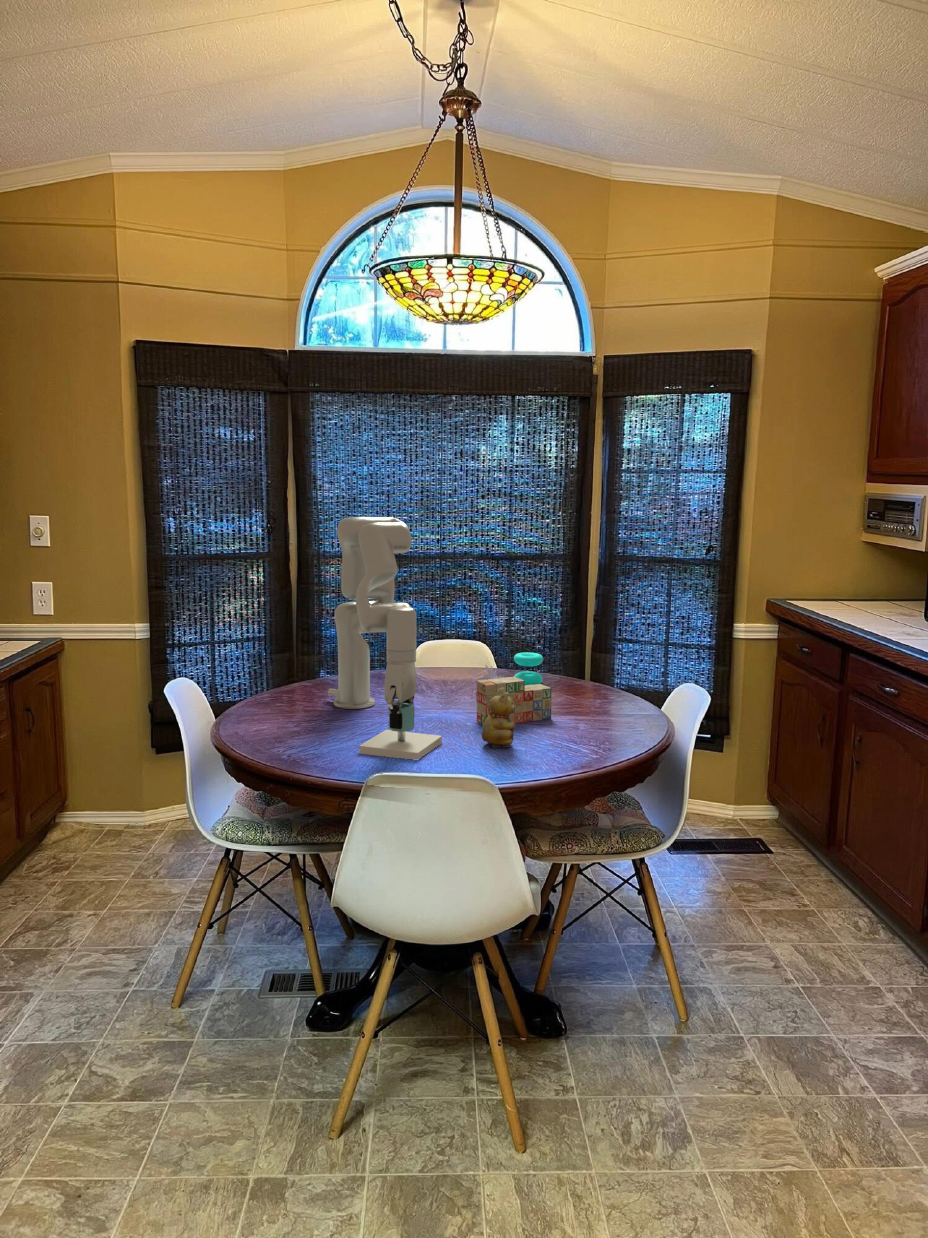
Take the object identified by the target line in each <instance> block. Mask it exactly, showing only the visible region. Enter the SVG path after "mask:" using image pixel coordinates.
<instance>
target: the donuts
mask: <svg viewBox="0 0 928 1238" xmlns="http://www.w3.org/2000/svg"><path fill="white" fill-rule="evenodd" d="M513 661H514V662H515V663H516V664H517V665H519V666H522V667H536V666H539V665H541V664H542V663H543V662H544V657H543V656H542V654H540V653H537V652H527V651H526V652H519V653H516V654H515V655H514V656H513ZM513 677H516V678H519V679H521V680H524V681H525V685H535V684H542V682H543V680H544V679H543V676H542V675H541V674H540V673H538V672H537V671H536V672H535V671H531V670H530V671H525V670H524V671H519V672H517V673H515V674H514V675H513Z"/></svg>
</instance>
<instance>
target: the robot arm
mask: <svg viewBox="0 0 928 1238" xmlns="http://www.w3.org/2000/svg"><path fill="white" fill-rule="evenodd" d="M336 531H337V532H336V533H337V539H338V543H339V545H340V549H341V554H342V555H341V557H342V560H341V582H340V589H341V593H342V595H343V597H344V598H346V599H348V600H355V601H347V602H343V603H340V604H338V606H337V607H336V608H335V609H334V623H335V628H336V629H335V630H336V636H337V659H338V660H337V661H338V662H337V665H338V667H337V670H338V674H337V675H338V679H337V681H338V683H337V684H338V686H337V687H338V688H337V689H335V688H328V690H327V696H329V697H335V699H334V700H333V706H335V707H336V708H339V709H345V710H357V709H358V710H359V709H366V708H370V707H372V706H374V705H376V700H375V699H374V698H373V697H371V684H370V683H371V682H370V681H371V680H370V679H371V673H370V671H371V670H370V668H371V667H370V663H371V661H370V660H371V659H370V658H371V657H370V654H371V653H370V652H371V651H370V650H371V649H370V646H369V643H368V642H367V641H366V640H365V639H364V637H363V636H362V634H366V633H367V634H369V633H371V634H372V633H386V662H387V663H386V669H385V675H384V678H385V679H384V691H383V692H384V695H383V696H384V698H383V699H384V701H385V702H386V705H387V707H388V708H387V709H388V714H389V713H390V728H394V729H402V713H401V707H402V703H411V704H412V705H414V704H415V703H414V699H415V695H416V691H417V674H416V673H417V672H416V663H417V611H416V610H415V608H413V607H412V606H411V605H410V604H409V603H407V602H395V592H396V591H395V589H396V588H395V587H396V585H395V584H396V583H395V577H396V576H397V574H398V571H399V570H398V564H397V560H396V556H395V554H404V553H408V552H409V551H410V549H411V547H412V542H413V541H412V540H413V539H412V533H411V531H410V529H409V527H408V525H407V524H406V523H405V522H404V521H402V520H400V519H398V518H397V517H396V518H395V517H392V516H391V517H390V516H388V517H387V516H376V517H375V516H373V517H371V516H353V517H352V516H350V517H345V518H342V519H341V520H339V522H338V524H337V530H336ZM395 699H396V700H395ZM394 703H395V704H398V708H397V706H396V705H394ZM414 706H415V705H414Z"/></svg>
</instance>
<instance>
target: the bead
mask: <svg viewBox="0 0 928 1238" xmlns="http://www.w3.org/2000/svg"><path fill="white" fill-rule="evenodd" d="M394 705H396V706H397V708H398V704H395V703H394ZM401 713H402V729H394V728H390V713H389V712H388V730H392V731H397V732H411V731H413V730H414V729H415V705H412V704H411V703H402V707H401Z"/></svg>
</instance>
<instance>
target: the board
mask: <svg viewBox="0 0 928 1238" xmlns="http://www.w3.org/2000/svg"><path fill="white" fill-rule="evenodd" d="M441 743H442V744H443V736H442V735H437V734H428V733H421V732H411V731H405V732H397V731H392V730H390V729H385V730H384V731H382V732H380V733H378V734H376V735H375V736H373V737H372V738H370V739H368V740H367V741H365V742H363V743H362V744H360V745H359V746H358V749H359V751H358V752H359V755H368V756H376V757H384V756H385V757H386V758H392V757H393V758H394V759H399V758H406V759H405V760H407V759H419V758H421V757H422V756H424V755H425V754H427V753H428V752H429V753H430V751H431V750H432V749H433V750H435V749H436V748H437V747H436V746H438V745H439V746H440V745H442V744H441ZM439 746H438V747H439ZM435 747H436V748H435ZM434 748H435V749H434ZM433 750H432V751H433ZM432 751H431V752H432ZM429 753H428V754H429ZM428 754H427V755H428ZM425 756H426V755H425ZM425 756H424V757H425ZM385 757H384V758H385ZM393 758H392V759H393ZM422 758H423V757H422ZM422 758H421V759H422Z"/></svg>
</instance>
